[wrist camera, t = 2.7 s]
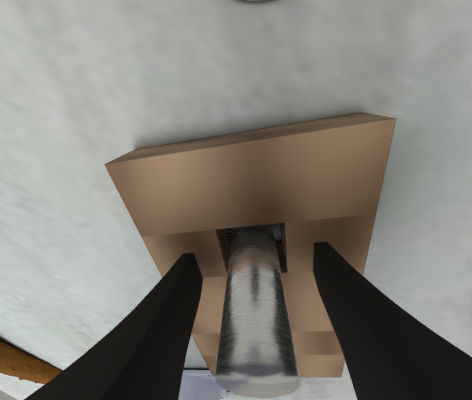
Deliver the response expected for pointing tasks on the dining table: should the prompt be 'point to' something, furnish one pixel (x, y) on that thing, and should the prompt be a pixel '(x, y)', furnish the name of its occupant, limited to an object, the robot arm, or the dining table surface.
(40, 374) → the primitive tool
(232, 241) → the steel peg
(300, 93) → the dining table surface
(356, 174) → the tool stand
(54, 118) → the dining table surface
